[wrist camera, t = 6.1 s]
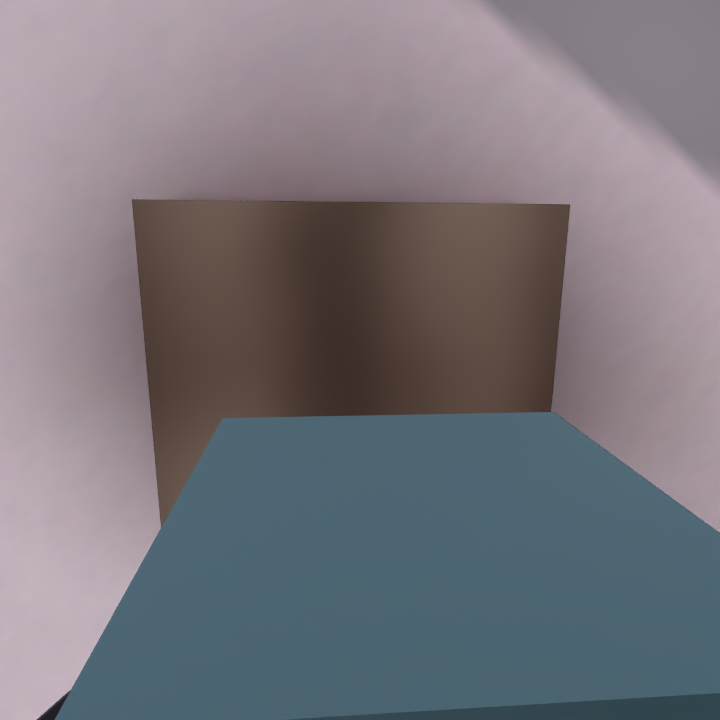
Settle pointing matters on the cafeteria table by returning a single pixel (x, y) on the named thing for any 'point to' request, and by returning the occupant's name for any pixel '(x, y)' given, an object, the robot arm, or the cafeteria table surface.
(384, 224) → the walnut base
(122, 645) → the teal cube
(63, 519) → the cafeteria table surface
